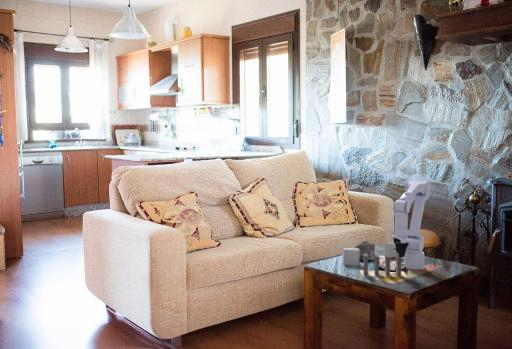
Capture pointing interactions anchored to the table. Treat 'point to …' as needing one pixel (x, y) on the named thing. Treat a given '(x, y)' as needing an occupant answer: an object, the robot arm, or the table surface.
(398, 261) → the loose domino
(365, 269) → the end domino
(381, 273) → the board
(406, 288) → the table surface
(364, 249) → the mineral rock
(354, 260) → the medicine box
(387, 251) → the cassette
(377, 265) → the domino
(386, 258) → the domino
